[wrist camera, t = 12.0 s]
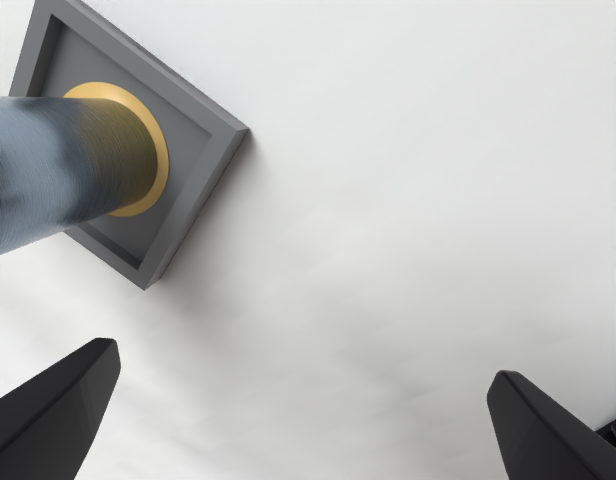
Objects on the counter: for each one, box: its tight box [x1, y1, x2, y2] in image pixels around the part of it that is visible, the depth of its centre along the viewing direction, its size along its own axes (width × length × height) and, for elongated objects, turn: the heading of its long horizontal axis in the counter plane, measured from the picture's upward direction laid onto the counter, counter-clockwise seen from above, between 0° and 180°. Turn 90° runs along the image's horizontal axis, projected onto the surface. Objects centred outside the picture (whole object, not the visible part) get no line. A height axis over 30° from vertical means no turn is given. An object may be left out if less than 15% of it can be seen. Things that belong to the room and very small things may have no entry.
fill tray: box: [8, 0, 249, 290], centre depth 20 cm, size 11×11×2 cm
